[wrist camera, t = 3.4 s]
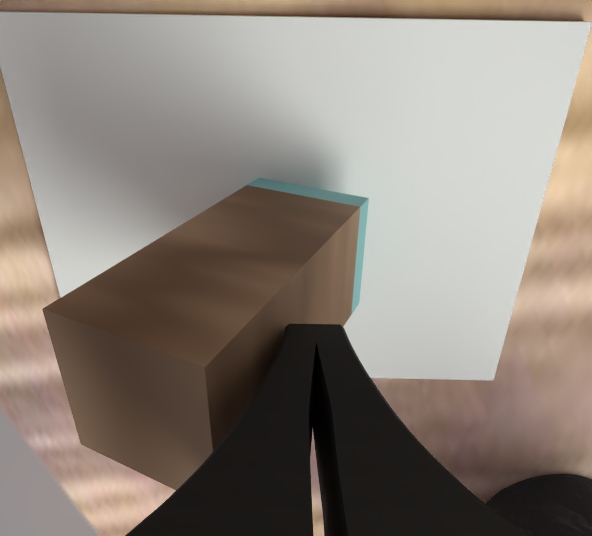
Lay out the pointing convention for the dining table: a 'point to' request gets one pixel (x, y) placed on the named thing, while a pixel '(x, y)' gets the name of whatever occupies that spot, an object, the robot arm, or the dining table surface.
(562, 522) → the travel mug
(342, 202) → the walnut block
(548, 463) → the dining table surface
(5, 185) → the dining table surface
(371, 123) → the grey mat
